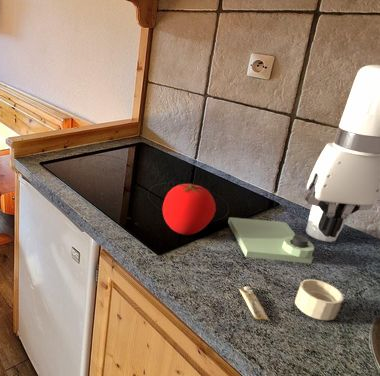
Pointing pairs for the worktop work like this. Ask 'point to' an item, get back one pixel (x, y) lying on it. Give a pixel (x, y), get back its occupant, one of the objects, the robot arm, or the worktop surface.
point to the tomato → (188, 208)
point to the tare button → (299, 241)
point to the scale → (269, 240)
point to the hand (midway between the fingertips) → (326, 233)
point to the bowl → (318, 299)
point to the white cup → (314, 221)
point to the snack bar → (253, 303)
